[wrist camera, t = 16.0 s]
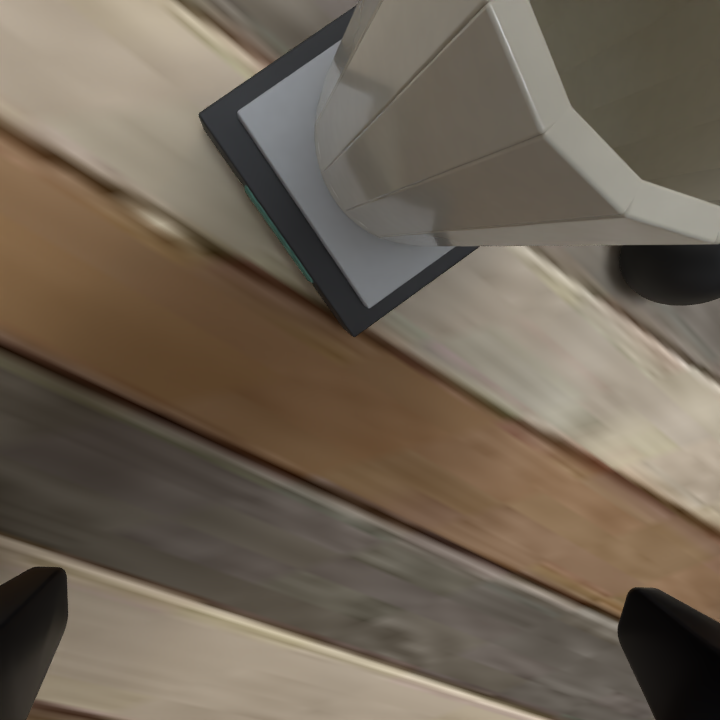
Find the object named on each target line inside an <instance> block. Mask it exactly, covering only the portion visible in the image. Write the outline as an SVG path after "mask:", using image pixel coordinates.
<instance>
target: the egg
mask: <svg viewBox="0 0 720 720" xmlns="http://www.w3.org/2000/svg"><path fill="white" fill-rule="evenodd" d="M619 262H620V269H621V272H622V275H623V277H624V279H625V281H626V282H627V284H628V285H629V286H630V287H631V288H632V289H633V290H634V291H635V292H636V293H638V294H639V295H641V296H643V297H644V298H646V299H649V300H651V301H654V302H657V303H661V304H667V305H694V304H700V303H705V302H709V301H712V300H715V299H718V298H720V244H717V245H622V248H621V251H620V258H619Z"/></svg>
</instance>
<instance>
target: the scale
mask: <svg viewBox="0 0 720 720" xmlns="http://www.w3.org/2000/svg"><path fill="white" fill-rule="evenodd" d="M356 6H357V5H356ZM356 6H355V7H353V8H352V9H350V10H349V11H347V12H346V13H344V14H343V15H341V16H340V17H338V18H337V19H336V20H334V21H333V22H331V23H330V24H328V25H327V26H325V27H324V28H322V29H321V30H320V31H318V32H317V33H315V34H314V35H312V36H311V37H309V38H308V39H306V40H305V41H303V42H302V43H301V44H299V45H298V46H296V47H295V48H293V49H292V50H290V51H289V52H287V53H286V54H285V55H283V56H282V57H280V58H279V59H277V60H276V61H274V62H273V63H271V64H270V65H268V66H267V67H266V68H264V69H263V70H261V71H260V72H258V73H257V74H255V75H254V76H252V77H251V78H250V79H248V80H247V81H245V82H244V83H242V84H241V85H239V86H238V87H236V88H235V89H233V90H232V91H231V92H229V93H228V94H226V95H225V96H223V97H222V98H220V99H219V100H217V101H216V102H215V103H213V104H212V105H210V106H209V107H207V108H206V109H204V110H203V111H201V112H200V113H199V118H200V121H201V123H202V126H203V128H204V130H205V132H206V133H207V135H208V136H209V138H210V139H211V140H212V142H213V143H214V145H215V146H216V148H217V149H218V150H219V152H220V153H221V155H222V156H223V158H224V159H225V160H226V162H227V163H228V165H229V166H230V168H231V169H232V170H233V172H234V173H235V175H236V176H237V177H238V179H239V180H240V182H241V183H242V185H243V186H244V187H245V192H246V193H247V195H248V196H249V198H250V199H251V201H252V202H253V203H254V205H255V206H256V208H257V209H258V211H259V212H260V213H261V215H262V216H263V218H264V219H265V221H266V222H267V223H268V225H269V226H270V228H271V229H272V230H273V232H274V233H275V235H276V236H277V238H278V239H279V240H280V242H281V243H282V245H283V246H284V248H285V249H286V250H287V252H288V253H289V255H290V256H291V258H292V259H293V260H294V262H295V263H296V265H297V266H298V267H299V269H300V270H301V272H302V273H303V275H304V276H305V277H306V279H307V280H308V281H310V282H311V283H312V284H313V286H314V287H315V289H316V290H317V292H318V293H319V294H320V296H321V297H322V299H323V300H324V302H325V303H326V304H327V306H328V307H329V309H330V310H331V312H332V313H333V314H334V316H335V317H336V319H337V320H338V322H339V323H340V324H341V326H342V327H343V329H345V330H346V331H347V332H348V333H349V334H350V335H351V336H353V337H356V336H357V335H358V334H360V333H361V332H362V331H364V330H365V329H367V328H368V327H369V326H371V325H372V324H373V323H375V322H376V321H378V320H379V319H380V318H382V317H383V316H385V315H386V314H387V313H389V312H390V311H391V310H393V309H394V308H396V307H397V306H398V305H400V304H401V303H402V302H404V301H405V300H407V299H408V298H409V297H411V296H412V295H414V294H415V293H416V292H418V291H419V290H420V289H422V288H423V287H425V286H426V285H427V284H429V283H430V282H431V281H433V280H434V279H436V278H437V277H438V276H440V275H441V274H443V273H444V272H445V271H447V270H448V269H449V268H451V267H452V266H454V265H455V264H456V263H458V262H459V261H460V260H462V259H463V258H465V257H466V256H467V255H469V254H470V253H472V252H473V251H474V250H476V249H477V248H478V247H480V246H438V247H416V246H412V245H404V244H398V243H393V242H389V241H386V240H383V239H380V238H378V237H376V236H374V235H372V234H370V233H368V232H367V231H365V230H364V229H362V228H361V227H359V226H358V225H357V224H356V223H354V222H353V221H352V220H351V219H350V218H349V217H348V216H347V215H346V214H345V213H344V212H343V211H342V210H341V208H340V207H339V206H338V205H337V203H336V202H335V200H334V199H333V197H332V196H331V194H330V192H329V190H328V188H327V186H326V184H325V182H324V180H323V177H322V174H321V171H320V169H319V165H318V160H317V156H316V150H315V141H314V123H315V116H316V109H317V105H318V101H319V97H320V94H321V91H322V88H323V83H324V79H325V77H326V74H327V72H328V70H329V67H330V65H331V63H332V61H333V58H334V56H335V54H336V51H337V49H338V47H339V45H340V42H341V40H342V38H343V35H344V33H345V31H346V29H347V26H348V24H349V22H350V20H351V17H352V15H353V13H354V10H355V8H356Z"/></svg>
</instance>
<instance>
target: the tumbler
mask: <svg viewBox="0 0 720 720" xmlns="http://www.w3.org/2000/svg"><path fill="white" fill-rule="evenodd" d="M314 141H315V150H316V156H317V160H318V165H319V169H320V171H321V174H322V177H323V180H324V182H325V184H326V186H327V188H328V190H329V192H330V194H331V196H332V197H333V199H334V200H335V202H336V203H337V205H338V206H339V207H340V208H341V210H342V211H343V212H344V213H345V214H346V215H347V216H348V217H349V218H350V219H351V220H352V221H353V222H354V223H356V224H357V225H358V226H359V227H361V228H362V229H364V230H365V231H367V232H368V233H370V234H372V235H374V236H376V237H378V238H380V239H383V240H386V241H389V242H393V243H398V244H404V245H412V246H416V247H438V246H579V245H717V244H720V0H359V1H358V4H357V6H356V8H355V10H354V13H353V15H352V17H351V20H350V22H349V24H348V26H347V29H346V31H345V33H344V35H343V38H342V40H341V42H340V45H339V47H338V49H337V51H336V54H335V56H334V58H333V61H332V63H331V65H330V67H329V70H328V72H327V74H326V77H325V79H324V83H323V88H322V91H321V94H320V97H319V101H318V105H317V109H316V116H315V123H314Z"/></svg>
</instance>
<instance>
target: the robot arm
mask: <svg viewBox="0 0 720 720" xmlns="http://www.w3.org/2000/svg"><path fill="white" fill-rule="evenodd" d="M67 619H68V598H67V575H66V572H65V570H64V569H62V568H60V567H33V568H31V569H29V570H27V571H25V572H23V573H21V574H20V575H18V576H16V577H14V578H13V579H11V580H9V581H7V582H6V583H4V584H2V585H0V720H26V719H27V717H28V714H29V712H30V710H31V707H32V705H33V703H34V700H35V698H36V696H37V694H38V691H39V689H40V687H41V684H42V682H43V680H44V677H45V675H46V673H47V670H48V668H49V666H50V664H51V661H52V659H53V657H54V654H55V652H56V650H57V647H58V645H59V643H60V640H61V638H62V636H63V633H64V631H65V628H66V624H67ZM618 638H619V642H620V644H621V647H622V649H623V651H624V653H625V655H626V657H627V659H628V662H629V664H630V666H631V668H632V670H633V672H634V674H635V677H636V679H637V681H638V683H639V685H640V687H641V689H642V692H643V694H644V696H645V698H646V700H647V702H648V704H649V707H650V709H651V711H652V713H653V715H654V717H655V719H656V720H720V623H719V622H717V621H715V620H713V619H711V618H710V617H708V616H706V615H704V614H702V613H701V612H699V611H697V610H695V609H693V608H692V607H690V606H688V605H686V604H684V603H683V602H681V601H679V600H677V599H675V598H674V597H672V596H670V595H668V594H666V593H665V592H663V591H661V590H659V589H656V588H642V587H635V588H632V589H631V590H630V591H629V592H628V594H627V597H626V601H625V604H624V607H623V611H622V614H621V617H620V621H619V624H618Z"/></svg>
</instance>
